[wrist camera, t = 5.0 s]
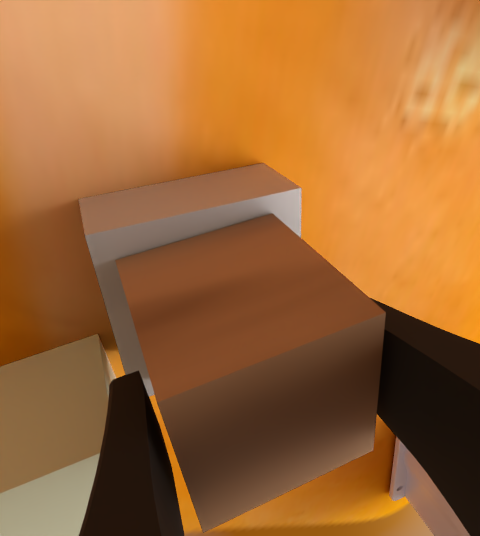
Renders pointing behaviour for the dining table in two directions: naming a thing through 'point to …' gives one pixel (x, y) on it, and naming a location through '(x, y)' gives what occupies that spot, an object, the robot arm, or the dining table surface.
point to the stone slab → (174, 229)
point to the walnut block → (255, 361)
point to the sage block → (51, 437)
